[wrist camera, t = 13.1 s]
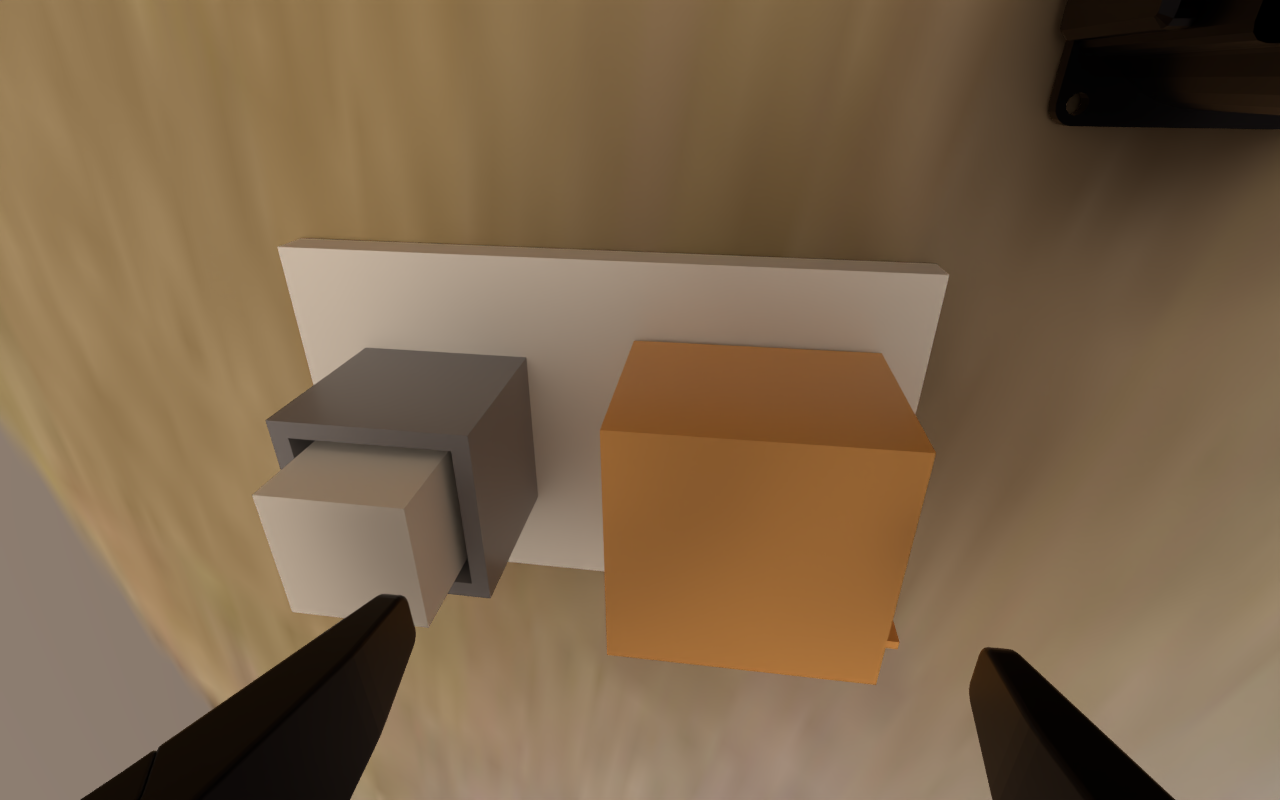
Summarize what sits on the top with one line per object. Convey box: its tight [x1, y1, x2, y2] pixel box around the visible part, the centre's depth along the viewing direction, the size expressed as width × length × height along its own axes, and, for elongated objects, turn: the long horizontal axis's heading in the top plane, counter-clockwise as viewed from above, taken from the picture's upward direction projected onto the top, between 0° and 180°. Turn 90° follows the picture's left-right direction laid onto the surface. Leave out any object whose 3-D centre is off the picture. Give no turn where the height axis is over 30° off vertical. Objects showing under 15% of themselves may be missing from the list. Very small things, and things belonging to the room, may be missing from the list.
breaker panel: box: [266, 238, 949, 649], centre depth 19 cm, size 20×12×6 cm, turn 89°
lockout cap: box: [600, 341, 936, 685], centre depth 18 cm, size 7×7×6 cm
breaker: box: [252, 440, 468, 628], centre depth 17 cm, size 4×4×4 cm
